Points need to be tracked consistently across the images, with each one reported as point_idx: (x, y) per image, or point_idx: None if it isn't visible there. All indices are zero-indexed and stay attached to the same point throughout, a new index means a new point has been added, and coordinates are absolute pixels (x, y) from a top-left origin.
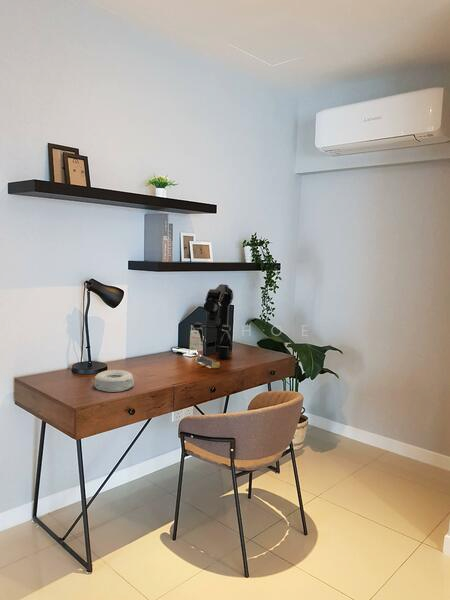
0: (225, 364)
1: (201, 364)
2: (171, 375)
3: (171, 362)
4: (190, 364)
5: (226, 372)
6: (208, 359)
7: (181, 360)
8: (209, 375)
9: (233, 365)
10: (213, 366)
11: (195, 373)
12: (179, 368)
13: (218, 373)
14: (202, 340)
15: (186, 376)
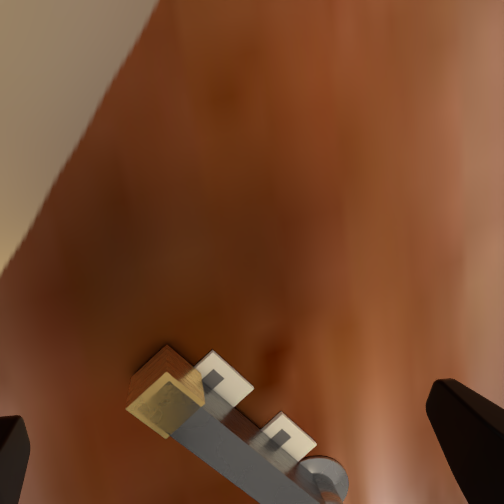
0: (104, 499)
1: (292, 421)
2: (493, 26)
3: (496, 399)
4: (371, 398)
5: (34, 258)
6: (247, 455)
7: (436, 471)
8: (176, 105)
9: (27, 498)
10: (183, 363)
11: (309, 144)
12: (441, 263)
13: (104, 201)
14: (459, 423)
15: (375, 18)
